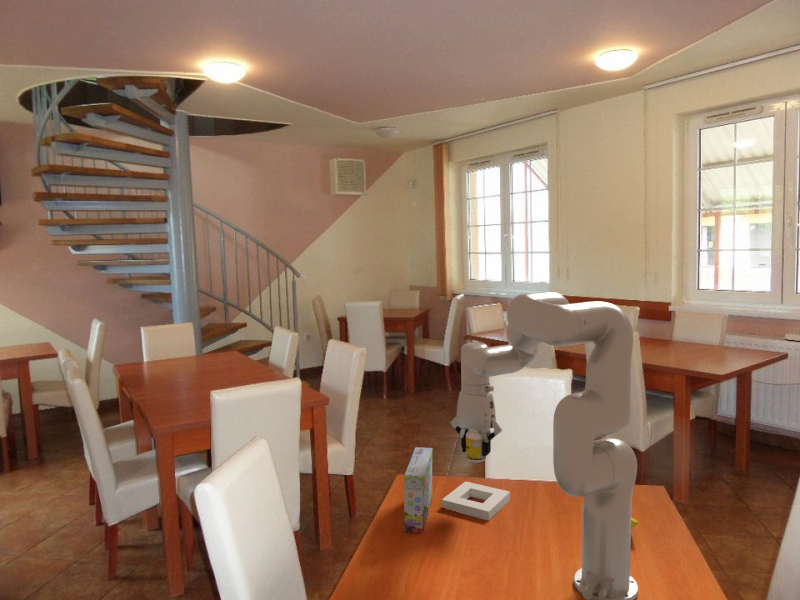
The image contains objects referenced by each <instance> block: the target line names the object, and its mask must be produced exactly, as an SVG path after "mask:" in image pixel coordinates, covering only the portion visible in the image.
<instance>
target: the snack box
mask: <svg viewBox="0 0 800 600" xmlns="http://www.w3.org/2000/svg"><path fill="white" fill-rule="evenodd" d="M433 449H434V448H433V447H414V450H413V452H412V455H411V458H410V461H409V463H408V465H407V468H406V471H405V473H404V476H403V478H404V479H403V480H404V481H403V482H404V484H403V486H404V487H403V488H404V490H403V491H404V494H403V495H404V502H403V503H404V505H403V506H404V510H403V511H404V512H403V513H404V517H403V518H404V519H403V521H404V522H403V523H404V524H403V527H404V528H403V529H404V531H403V532H404V533H412V532H413V534H424V532H425V528H426V523H427V521H426V520H428V517H429V513H430V508H431V504H432V502H431V501H433ZM427 516H428V517H427Z"/></svg>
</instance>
